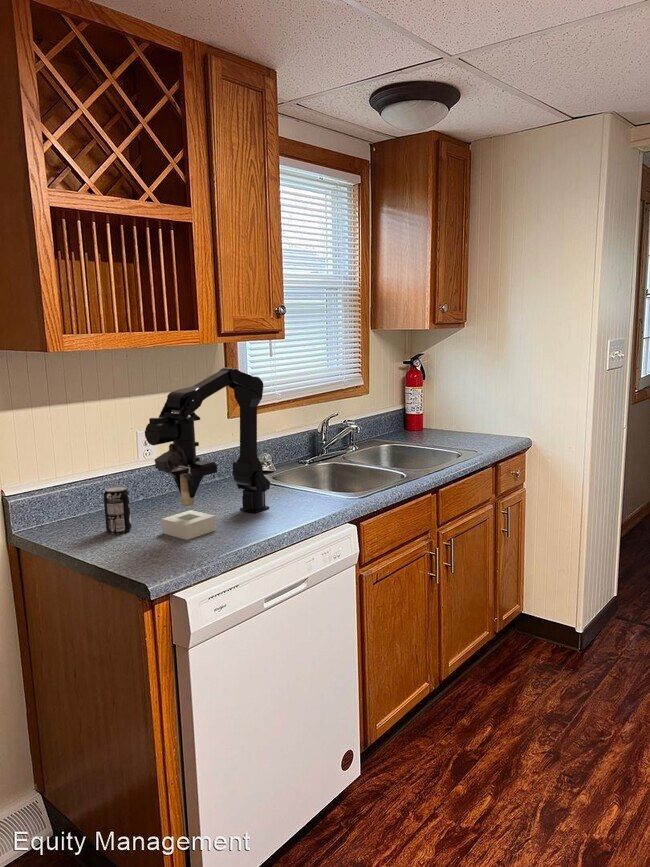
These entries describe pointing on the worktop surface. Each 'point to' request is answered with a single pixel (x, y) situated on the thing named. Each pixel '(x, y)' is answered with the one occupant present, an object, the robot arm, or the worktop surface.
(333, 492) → the worktop surface
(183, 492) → the peg
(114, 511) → the beverage can
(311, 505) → the worktop surface
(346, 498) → the worktop surface
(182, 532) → the socket
